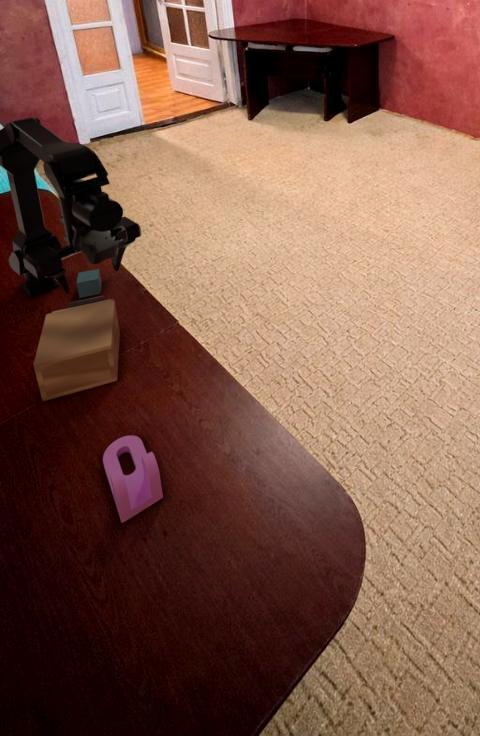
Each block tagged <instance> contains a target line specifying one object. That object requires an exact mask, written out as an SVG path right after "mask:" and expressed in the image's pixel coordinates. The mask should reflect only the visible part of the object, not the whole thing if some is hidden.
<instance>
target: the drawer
mask: <svg viewBox="0 0 480 736" xmlns="http://www.w3.org/2000/svg"><path fill="white" fill-rule="evenodd" d="M110 300H113V298H110V299H105V295H100V296H95V297H91V298H87V299H81V300H75V301H71V302H67V308H64V309H57V310H54V311H52V312H51V313H54V312H59V311H64V310H68V309H73V308H78V307H82V306H87V305H92V304H96V303H101V302H106V301H110Z"/></svg>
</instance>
